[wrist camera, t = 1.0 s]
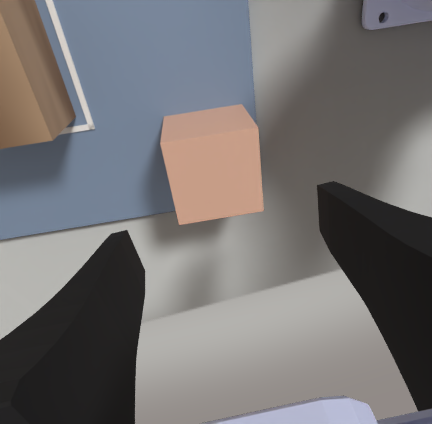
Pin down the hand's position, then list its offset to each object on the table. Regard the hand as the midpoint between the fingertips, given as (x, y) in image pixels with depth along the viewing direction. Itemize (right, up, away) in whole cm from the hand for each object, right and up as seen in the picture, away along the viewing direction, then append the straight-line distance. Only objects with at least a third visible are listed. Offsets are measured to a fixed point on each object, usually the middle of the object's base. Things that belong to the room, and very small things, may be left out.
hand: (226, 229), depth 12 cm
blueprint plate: (-7, +6, +6) cm, 12 cm away
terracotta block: (-1, +5, +8) cm, 9 cm away
